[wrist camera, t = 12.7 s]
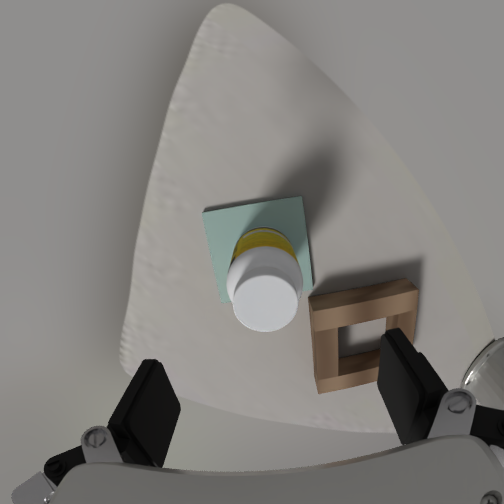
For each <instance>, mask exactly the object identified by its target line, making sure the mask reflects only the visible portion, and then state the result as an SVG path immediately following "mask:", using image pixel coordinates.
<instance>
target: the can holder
mask: <svg viewBox="0 0 504 504" xmlns="http://www.w3.org/2000/svg"><path fill="white" fill-rule="evenodd" d="M418 293H419V289H418V288H417V287H415V286H414V285H413V284H412V283H411V282H410V281H409V280H407V279H406V278H404V279H400V280H395V281H390V282H386V283H381V284H376V285H371V286H366V287H361V288H356V289H351V290H345V291H340V292H335V293H329V294H323V295H318V296H312V297H308V302H309V312H310V323H311V335H312V348H313V362H314V377H315V381H316V386H317V390H318V394H321V393H327V392H332V391H337V390H341V389H346V388H350V387H355V386H359V385H363V384H367V383H371V382H375V381H377V379H378V370H379V361H380V349H378V350H374V351H370V352H366V353H362V354H358V355H353V356H349V357H344V358H339V359H338V327H343V326H348V325H353V324H358V323H362V322H367V321H371V320H376V319H380V318H384V317H387V318H386V330H389V329H393V328H397V327H399V328H400V329H401V330H402V332H403V333H404V334H405V336H406V337H407V338H408V340H409V341H410V342H411V344H413V338H414V331H415V323H416V314H417V305H418Z"/></svg>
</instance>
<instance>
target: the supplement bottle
mask: <svg viewBox="0 0 504 504" xmlns="http://www.w3.org/2000/svg"><path fill="white" fill-rule="evenodd" d="M226 286H227V292H228V295H229V298H230V300H231V302H232V303H233V309H234V312H235V315H236V317H237V318H238V319H239V321H240V322H241V323H242V324H244V325H245V326H246V327H248V328H250V329H252V330H255V331H261V332H269V331H275V330H278V329H280V328H282V327H284V326H286V325H287V324H288V323H289V322H290V321H291V320H292V319H293V318H294V316H295V314H296V312H297V309H298V302H299V299H300V297H301V294H302V291H303V276H302V272H301V268H300V266H299V263H298V260H297V258H296V255H295V252H294V250H293V247H292V245H291V243H290V241H289V239H288V238H287V237H286V236H285V235H284V234H283V233H282V232H281V231H279V230H277V229H275V228H272V227H267V226H260V227H255V228H252V229H250V230H248V231H246V232H245V233H244V234H243V235H242V236H241V237H240V238H239V239H238V241H237V243H236V245H235V247H234V251H233V255H232V258H231V262H230V266H229V269H228V274H227V281H226Z"/></svg>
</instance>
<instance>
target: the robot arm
mask: <svg viewBox="0 0 504 504" xmlns="http://www.w3.org/2000/svg"><path fill="white" fill-rule="evenodd" d="M377 385H378V389H379V391H380V394H381V396H382V398H383V400H384V403H385V405H386V407H387V410H388V412H389V415H390V417H391V419H392V422H393V424H394V427H395V429H396V431H397V434H398V436H399V439H400V441H401V444H402V445H403V446H399V447H396V448H392V449H389V450H385V451H381V452H378V453H374V454H370V455H366V456H361V457H357V458H352V459H348V460H343V461H338V462H332V463H327V464H321V465H314V466H307V467H299V468H290V469H280V470H267V471H244V472H213V471H192V470H179V469H169V468H162V467H163V464H164V461H165V458H166V455H167V452H168V448H169V445H170V442H171V439H172V436H173V433H174V430H175V426H176V423H177V420H178V417H179V414H180V411H181V408H180V403H179V401H178V399H177V397H176V394H175V392H174V390H173V388H172V386H171V383H170V381H169V379H168V376H167V374H166V372H165V369H164V367H163V365H162V363H161V362H158V360H156V359H145V360H143V361H142V363H141V365H140V367H139V368H138V370H137V372H136V373H135V375H134V377H133V379H132V380H131V382H130V384H129V386H128V387H127V389H126V391H125V393H124V395H123V397H122V398H121V400H120V402H119V404H118V405H117V407H116V409H115V411H114V412H113V414H112V416H111V418H110V420H109V422H108V426H107V428H106V427H104V426H94V427H91V428H90V429H88V430H87V431H85V432H84V434H83V435H82V437H81V446H78V447H76V448H73V449H71V450H68V451H66V452H64V453H61V454H59V455H56V456H54V457H52V458H50V459H49V460H48V461H47V462H46V464H45V465H44V473H41V472H38V473H37V474H36V475H34V476H33V477H31V478H30V479H28V480H27V481H26V482H24V483H23V484H21V485H20V486H18V487H17V488H16V489H15V490H14V491H13V493H12V501H13V503H14V504H504V337H503V338H500V339H498V340H496V341H494V342H493V343H492V344H490V345H489V346H488V347H487V348H486V349H485V350H484V351H483V352H482V353H481V354H480V355H479V356H478V357H477V358H476V360H475V361H474V362H473V364H472V365H471V366H470V368H469V370H468V371H467V373H466V375H465V377H464V379H463V382H462V386H461V389H459V388H457V389H452V390H450V391H449V390H448V389H447V388H446V386H445V385H444V383H443V382H442V380H441V379H440V377H439V376H438V374H437V373H436V372H435V370H434V369H433V367H432V366H431V364H430V363H429V362H428V360H427V359H426V357H425V356H424V355H423V354H422V353H421V352H419V353H418V352H417V351H416V349H415V348H414V347H413V345H412V344H411V342H410V341H409V340H408V338H407V337H406V336H405V334H404V333H403V332H402V330H401V329H400V328H399V327H397V328H393V329H389V330H386V332H385V334H383V335H382V337H381V349H380V361H379V370H378V379H377ZM476 398H477V400H478V401H479V403H480V404H481V405H482V406H480V405H476ZM405 444H406V445H405Z"/></svg>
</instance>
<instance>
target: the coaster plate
mask: <svg viewBox="0 0 504 504" xmlns="http://www.w3.org/2000/svg"><path fill="white" fill-rule="evenodd" d="M202 217H203V222H204V227H205V232H206V236H207V241H208V246H209V250H210V255H211V259H212V264H213V268H214V273H215V277H216V281H217V286H218V290H219V294H220V298H221V303H227V302H231V300H230V298H229V295H228V292H227V286H226V281H227V274H228V269H229V266H230V262H231V258H232V255H233V251H234V247H235V245H236V243H237V241H238V239H239V238H240V237H241V236H242V235H243V234H244V233H245V232H246V231H248V230H250V229H252V228H255V227H260V226H267V227H272V228H275V229H277V230H279V231H281V232H282V233H283V234H284V235H285V236H286V237H287V238H288V239H289V241H290V243H291V245H292V247H293V250H294V252H295V255H296V258H297V260H298V263H299V266H300V268H301V272H302V276H303V291H307V290H313V285H312V275H311V265H310V256H309V247H308V239H307V231H306V223H305V215H304V208H303V201H302V196H297V197H290V198H284V199H277V200H271V201H264V202H258V203H252V204H246V205H240V206H234V207H229V208H223V209H218V210H212V211H207V212H202Z"/></svg>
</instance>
